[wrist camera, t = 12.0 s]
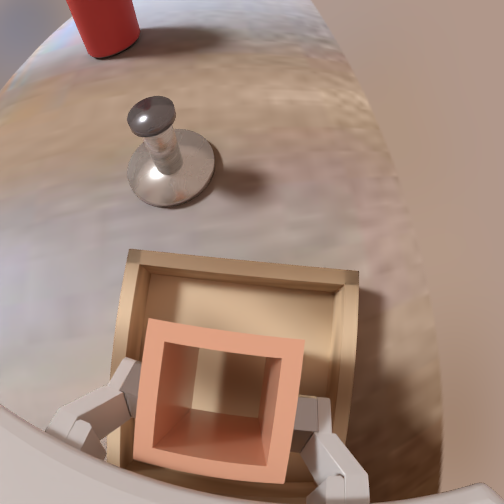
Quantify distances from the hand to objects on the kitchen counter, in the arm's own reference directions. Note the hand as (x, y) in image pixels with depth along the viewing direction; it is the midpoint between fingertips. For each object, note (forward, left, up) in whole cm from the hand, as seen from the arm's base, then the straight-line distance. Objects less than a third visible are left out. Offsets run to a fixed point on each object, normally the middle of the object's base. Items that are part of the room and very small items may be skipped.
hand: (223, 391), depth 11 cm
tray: (-1, 0, -7) cm, 7 cm away
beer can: (+31, +18, -7) cm, 37 cm away
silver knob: (+13, +6, -7) cm, 16 cm away
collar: (0, 0, -4) cm, 4 cm away
